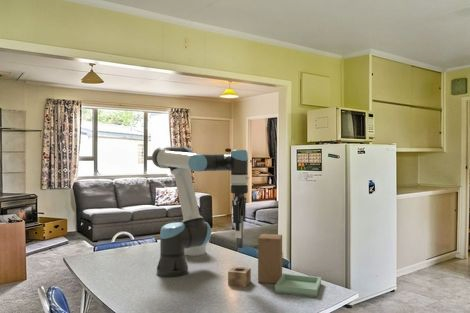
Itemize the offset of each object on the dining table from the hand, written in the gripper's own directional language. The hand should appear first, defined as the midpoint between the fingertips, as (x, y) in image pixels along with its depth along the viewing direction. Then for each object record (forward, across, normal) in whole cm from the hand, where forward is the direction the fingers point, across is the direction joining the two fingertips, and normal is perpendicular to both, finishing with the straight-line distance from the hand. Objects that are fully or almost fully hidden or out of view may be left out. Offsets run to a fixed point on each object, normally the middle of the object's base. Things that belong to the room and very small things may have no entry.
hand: (239, 236), depth 169 cm
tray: (+21, +2, -26) cm, 33 cm away
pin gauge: (+5, 0, 0) cm, 5 cm away
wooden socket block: (+21, 0, 0) cm, 21 cm away
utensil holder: (+21, +43, +42) cm, 64 cm away
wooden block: (+21, +9, -12) cm, 26 cm away
